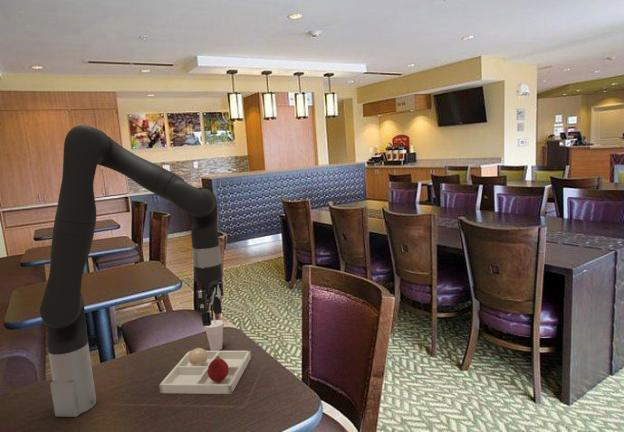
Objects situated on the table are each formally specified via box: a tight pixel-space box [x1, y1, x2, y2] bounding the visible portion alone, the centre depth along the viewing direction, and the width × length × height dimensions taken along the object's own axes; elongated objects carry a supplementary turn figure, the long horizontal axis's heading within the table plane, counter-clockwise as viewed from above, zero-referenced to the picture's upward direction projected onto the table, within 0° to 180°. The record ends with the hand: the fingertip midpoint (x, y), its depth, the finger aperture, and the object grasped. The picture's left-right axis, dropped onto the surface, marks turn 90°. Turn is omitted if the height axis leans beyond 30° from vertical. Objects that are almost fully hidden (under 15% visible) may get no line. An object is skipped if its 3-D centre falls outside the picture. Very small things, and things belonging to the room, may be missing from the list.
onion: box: [208, 355, 229, 383], centre depth 121 cm, size 6×6×8 cm
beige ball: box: [189, 347, 208, 366], centre depth 132 cm, size 6×6×6 cm
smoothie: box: [203, 311, 224, 351], centre depth 143 cm, size 6×6×14 cm
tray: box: [158, 350, 252, 395], centre depth 127 cm, size 20×20×3 cm
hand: (212, 319), depth 119 cm, fingers open, 8 cm apart
